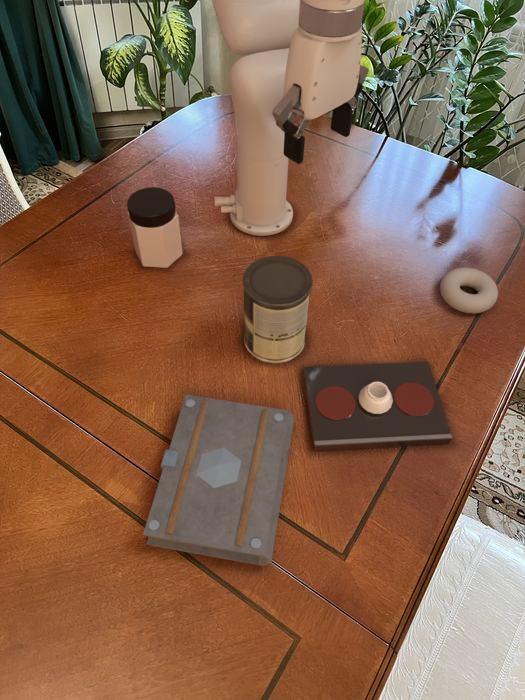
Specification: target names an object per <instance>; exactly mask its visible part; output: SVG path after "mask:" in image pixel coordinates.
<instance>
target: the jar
mask: <svg viewBox="0 0 525 700" xmlns="http://www.w3.org/2000/svg"><path fill="white" fill-rule="evenodd" d="M126 206H127V207H126V208H127V218H128V223H129V227H130V231H131V236H132V237H131V238H132V241H133V246H134V251H135V254H136V255H137V257H138V259H139V261H140V263H141V265H142V267H146V268H147V267H148V268H163V269H168V268H169V267H170V266H172V264H173V263H175V262H176V261H177V260H178V259H179V258H180V257H182V256H183V254H184V253H183V244H182V237H181V228H180V220H179V219H180V218H179V215H178V213H177V210H176V209H177V207H176V202H175V197H174V195H173V194H172V193H171V192H170V191H169V190H167V189H164V188H162V187H158V186H157V187H156V186H151V187H144V188H140V189H138V190H135V191H134V192H132V193H131V194H130V195H129V197H128V198H127V201H126Z"/></svg>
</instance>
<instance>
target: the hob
mask: <svg viewBox="0 0 525 700" xmlns="http://www.w3.org/2000/svg"><path fill="white" fill-rule="evenodd" d="M302 373H303V383H304V388H305V396H306V402H307V410H308V417H309V418H308V419H309V425H310V432H311V439H312V447H313V451H314V452H320V451H337V450H355V449H356V450H359V449H375V448H377V449H378V448H393V447H394V448H395V447H411V446H412V447H413V446H414V447H415V446H430V445H434V446H435V445H449V444H450V443H451V442H452V439H453V434H452V433H451V431H450V428H449V424H448V421H447V417H446V415H445V414H446V413H445V411H444V408H443V404H442V402H441V398H440V395H439V391H438V388H437V386H436V382H435V379H434V375H433V373H432V369H431V366H430V362H429V361H411V362H410V361H409V362H408V361H407V362H388V363H386V362H385V363H384V362H383V363H366V364H365V363H363V364H362V363H361V364H343V365H340V364H339V365H322V366H321V365H320V366H317V365H316V366H303V371H302ZM373 382H381V383H383V384H385V385H386V386H387V387H388V389H389V391H390V393H391V395H392V399H393V402H392V406H391V408H390V409H389V410H388V411H387V412H384V413H382V414H373V413H371V412H368V411H366V410H365V409H364V408H362V406H361V404H360V403H359V394H360V391H361V390H362V389H363V388H364V387H365V386H367V385H369V384H371V383H373Z"/></svg>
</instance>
